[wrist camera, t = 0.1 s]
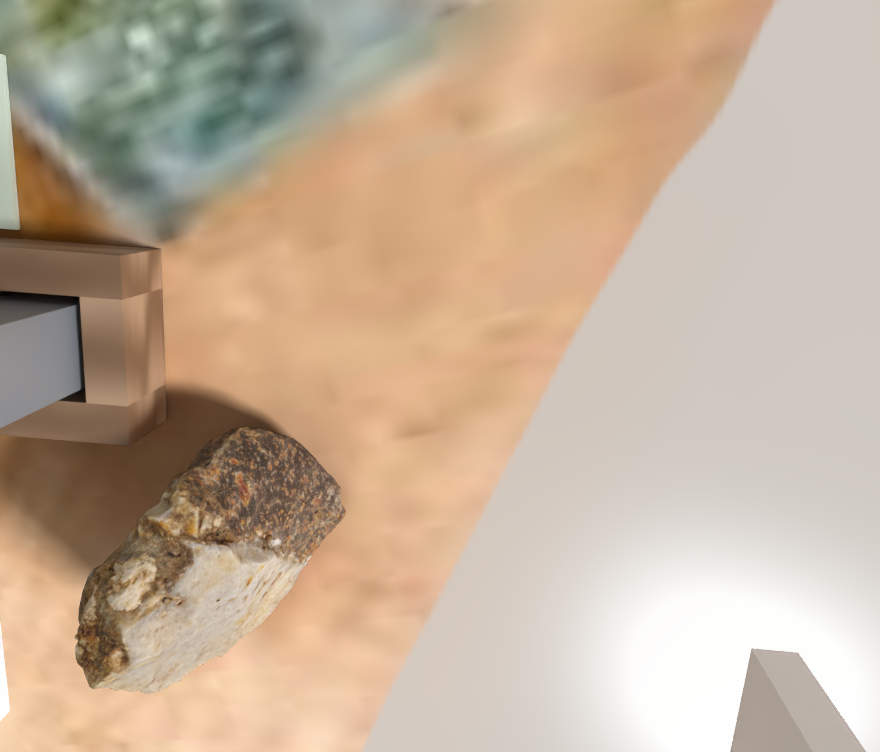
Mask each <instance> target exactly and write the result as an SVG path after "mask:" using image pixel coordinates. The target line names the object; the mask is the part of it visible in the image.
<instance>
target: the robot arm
mask: <svg viewBox="0 0 880 752" xmlns="http://www.w3.org/2000/svg"><path fill="white" fill-rule="evenodd" d="M9 711H10V707H9V698H8V689H7V679H6V670H5V661H4V652H3V643H2V633H1V624H0V721H1V720H2V719H3V717H4V716H5V715H6V714H7V713H8V712H9ZM731 752H866V751H865V750H864V748H863V747H862V746H861V744H860V742H859V741H858V740H857V738H856V737H855V735H854V734H853V732H852V731H851V729H850V728H849V726H848V725H847V723H846V722H845V721H844V719H843V718H842V716H841V715H840V713H839V712H838V710H837V709H836V707H835V706H834V705H833V703H832V702H831V700H830V699H829V697H828V696H827V694H826V693H825V691H824V690H823V689H822V687H821V686H820V684H819V683H818V681H817V680H816V679H815V677H814V675H813V674H812V673H811V671H810V670H809V668H808V667H807V665H806V664H805V662H804V661H803V659H802V658H801V657H800V655H799V654H798V653H793V652H783V651H771V650H761V649H752V650H751V654H750V660H749V664H748V669H747V674H746V679H745V684H744V688H743V693H742V698H741V703H740V708H739V713H738V718H737V723H736V727H735V733H734V737H733V742H732V747H731Z"/></svg>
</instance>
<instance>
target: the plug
mask: <svg viewBox="0 0 880 752" xmlns="http://www.w3.org/2000/svg"><path fill="white" fill-rule="evenodd" d="M83 388H85V374H84V359H83V343H82V328H81V312H80V297H78V296H65V295H52V294H39V293H26V292H19V293H14V294H9V295H4V296H0V428H2V427H4V426H6V425H8V424H10V423H12V422H14V421H17V420H19V419H21V418H23V417H25V416H27V415H29V414H31V413H33V412H35V411H37V410H39V409H41V408H43V407H46V406H48V405H50V404H52V403H54V402H56V401H58V400H60V399H62V398H64V397H66V396H68V395H70V394H72V393H75V392H77V391H79V390H81V389H83Z"/></svg>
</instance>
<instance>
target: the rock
mask: <svg viewBox="0 0 880 752" xmlns="http://www.w3.org/2000/svg"><path fill="white" fill-rule="evenodd" d="M345 514H346V510H345V509H344V507H343V505H342V504H341V500H340V486H339V485H338V484H337V482H336V481H335V479H334V478H333V477H332V476H331V475H330V474H328V473H327V472H326V471H325V469H324V468H323V467H322V466H321V465H320V464H319V463H318V461H317V460H316V459H315V458H314V457H313V456H312V455H311V454H310V453H309V452H308V451H307V450H306V449H305V448H304V447H303V446H302V445H301V444H300V443H299V442H297V441H296V440H295V439H293V438H289V437H287V436H283V435H279V434H275V433H273V432H271V431H269V430H265V429H262V428H251V427H244V428H237V429H233V430H230V431H228V432H226V433H224V434H222V435H220V436H219V437H218V438H217V439H214V440H210V441H209V442H208V443H207V444H206V446H205V447H204V448H203V449H202V450H201V451H199V452H198V454H197V459H196V460H195V461H194V462H192V463H191V465H190V467H189V469H188V471H186V472H183V473H181V474H178V475H176V476H175V477H173V478H172V480H171V482H170V484H169V486H168V488H167V490H166V491H165V492H164V493H163V494H162V496H161V501H160V503H159V504H157V505H156V506H154V507H153V508H151V509H149V510H147V511H146V512H145V513H144V515H143V516H142V517H141V518H140V519H139V520H138V522H137V524H136V525H135V527H134V529H133V531H132V532H131V533H130V535H129V536H128V538H127V539H126V540H125V542H124V543H123V544H122V545H121V546H120V547H119V548H118V549H117V550H115V551H114V552H113V553H112V554H111V555H110V556H109V557H108V558H107V560H106V561H105V562H104V563H103V564H102V565H100V566H98V567H97V568H95V569H93V571H92V572H91V574H90V575H89V577H88V579H87V581H86V584H85V586H84V589H83V592H82V597H81V602H80V606H79V617H78V619H79V623H80V626H79V628H78V634H77V635H76V636H75V639H77V640H78V643H77V645H76V648H75V651H76V660H77V663H78V664H79V665H80V666H81V667H82V668H83V670H84V673H85V676H86V679H87V681H88V684H89V686H90V687H91V688H92V689H98V688H107V687H109V688H110V689H114V690H122V689H123V690H125V691H128V692H132V691H140V692H143V693H145V694H150V693H153V692H157V691H160V690H162V689H164V688H166V687H168V686H170V685H171V684H172V683H174V682H177V681H180V680H181V679H182V678H183V677H184V676H185V675H187V674H188V673H190V672H191V671H192V670H194V669H195V668H197V667H198V666H199V665H200V664H201V665H203V664H204V663H206V662H207V661H208V660H210V659H212V658H215V657H221V656H222V655H224V654H225V653H227V652H228V651H229V650H230V649H231V648H232V647H233V646H234V644H235V643H236V642H237V641H239V640H240V639H241V638H242V637H243V636H244V635H246V634H248V633H249V632H251V631H252V630H253V629H255V628H256V627H258V626H259V625H260V624H261V623H263V621H264V620H265V619H266V617H267V616H269V615H270V614H271V613H272V612H273V610H274V609H275V608H276V606H277V605H278V603H279V602H280V600H281V599H282V598H284V597H285V596H286V595H287V594H288V592H289V591H290V590H291V588H292V587H293V585H294V584H295V582H296V579H297V577H298V575H299V573H300V571H301V570H302V569H303V568H304V567H305V566H306V564H307V562H308V560H309V559H310V558H311V556H312V554H313V552H314V551H315V549H316V548H318V547H319V545H320V543H321V541H322V540H323V539H324V538H325V537H326V536H327V535H328V534H329V533H330V532H331V531H332V530H333V529H334V528H335V527H336V525H337V524H338V523H339V522H340V521H341V520H342V518H343V517H344V516H345Z"/></svg>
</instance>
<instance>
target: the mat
mask: <svg viewBox="0 0 880 752" xmlns="http://www.w3.org/2000/svg"><path fill="white" fill-rule="evenodd" d="M0 229H11V230H20V220H19V208H18V196H17V185H16V173H15V161H14V149H13V137H12V125H11V113H10V101H9V89H8V77H7V65H6V55H3V54H0Z"/></svg>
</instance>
